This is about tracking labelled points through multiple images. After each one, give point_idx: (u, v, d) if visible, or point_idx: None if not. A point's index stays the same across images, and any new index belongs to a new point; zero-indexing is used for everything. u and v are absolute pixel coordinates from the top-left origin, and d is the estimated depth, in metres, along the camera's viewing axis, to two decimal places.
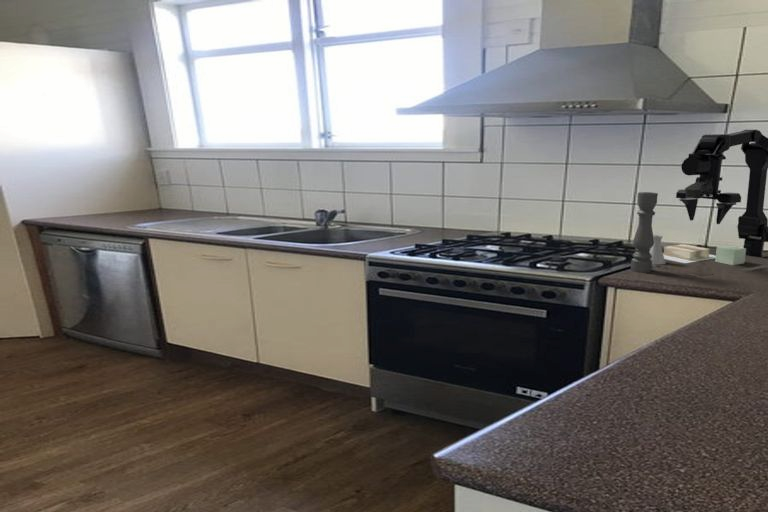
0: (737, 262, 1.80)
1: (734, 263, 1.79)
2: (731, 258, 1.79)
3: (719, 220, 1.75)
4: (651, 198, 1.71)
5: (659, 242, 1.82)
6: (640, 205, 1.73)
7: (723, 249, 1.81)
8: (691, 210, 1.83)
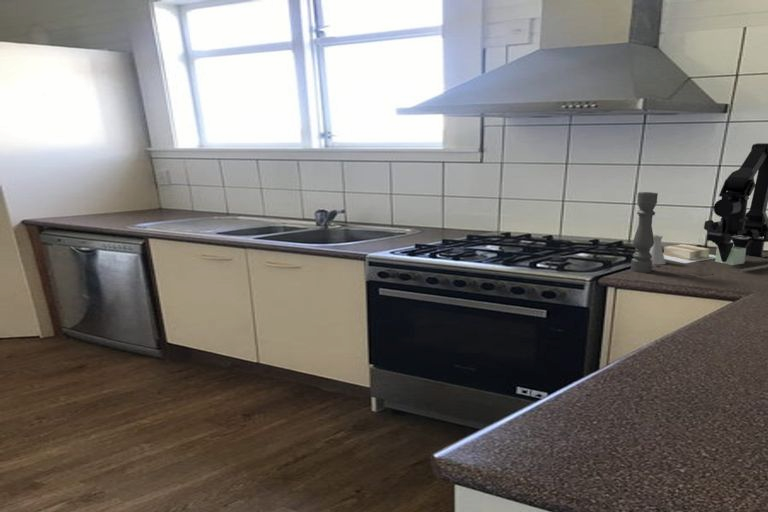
0: (737, 262, 1.80)
1: (734, 263, 1.79)
2: (731, 258, 1.79)
3: (722, 257, 1.81)
4: (650, 198, 1.71)
5: (659, 242, 1.82)
6: (640, 205, 1.73)
7: None
8: None
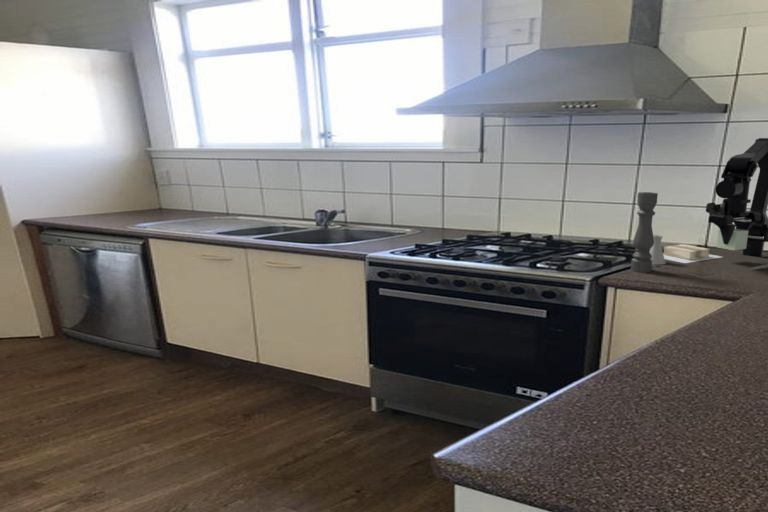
0: (739, 244, 1.79)
1: (736, 245, 1.78)
2: (733, 240, 1.78)
3: (724, 240, 1.80)
4: (650, 198, 1.71)
5: (659, 242, 1.82)
6: (640, 205, 1.73)
7: None
8: None
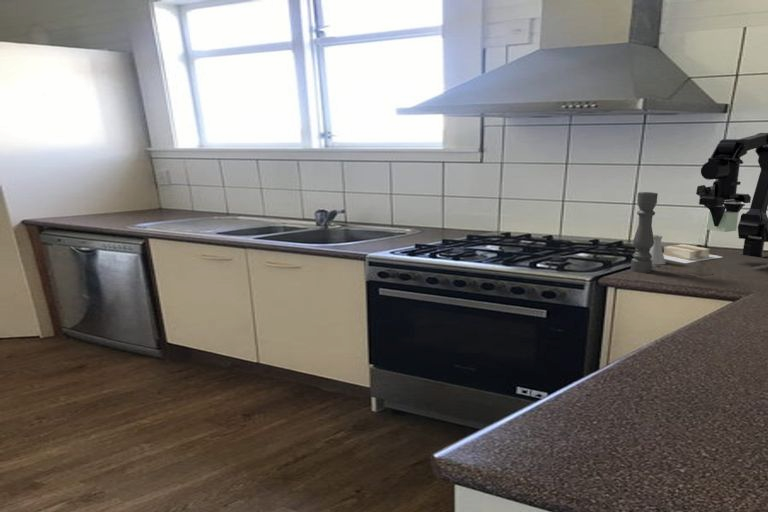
0: (730, 226, 1.80)
1: (727, 227, 1.79)
2: (723, 222, 1.79)
3: (714, 222, 1.81)
4: (650, 198, 1.71)
5: (659, 242, 1.82)
6: (640, 205, 1.73)
7: None
8: None
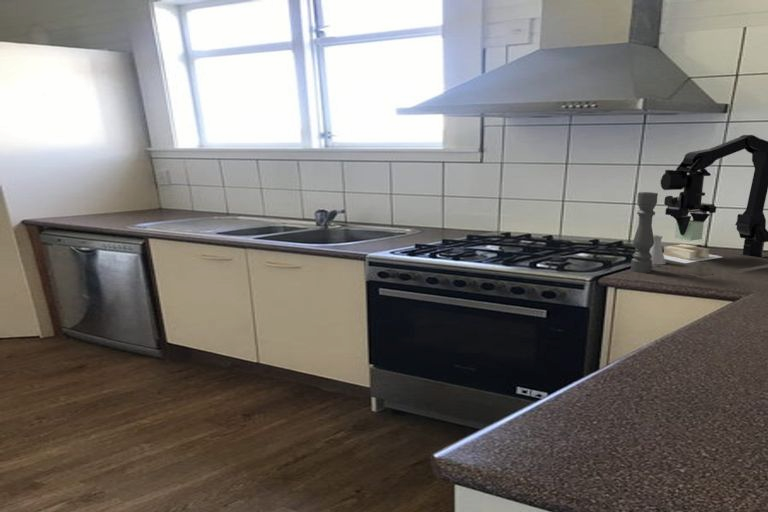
0: (695, 235, 1.88)
1: (692, 236, 1.88)
2: (688, 231, 1.88)
3: (680, 231, 1.90)
4: (651, 198, 1.71)
5: (659, 242, 1.82)
6: (640, 205, 1.73)
7: None
8: None
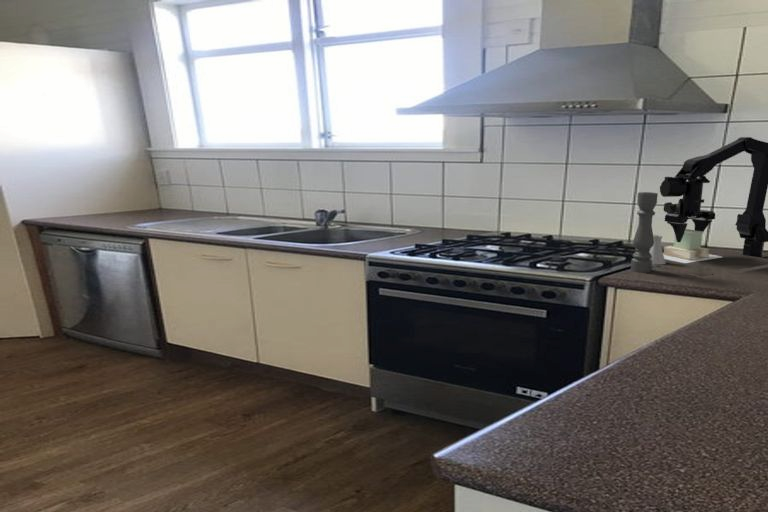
0: (694, 244, 1.89)
1: (691, 245, 1.88)
2: (687, 240, 1.88)
3: (677, 238, 1.90)
4: (650, 198, 1.71)
5: (659, 242, 1.82)
6: (640, 205, 1.73)
7: None
8: (696, 229, 1.93)
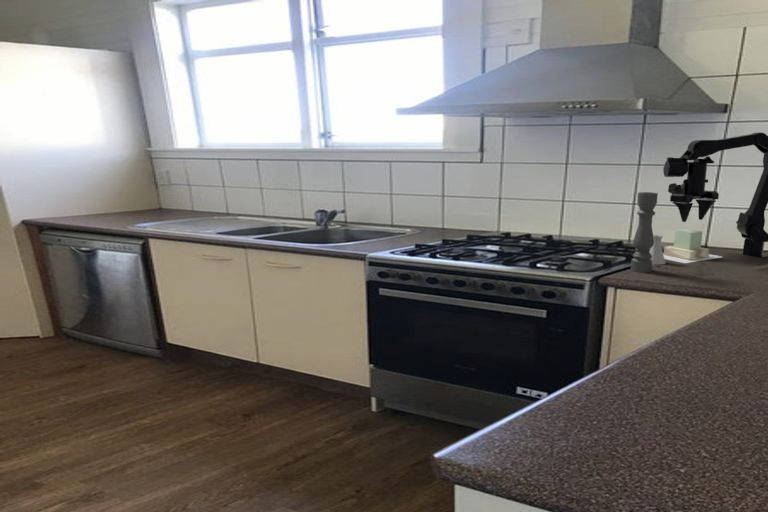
0: (694, 244, 1.89)
1: (691, 245, 1.88)
2: (687, 240, 1.88)
3: (682, 218, 1.93)
4: (651, 198, 1.71)
5: (659, 242, 1.82)
6: (640, 205, 1.73)
7: (681, 232, 1.90)
8: (700, 210, 1.97)
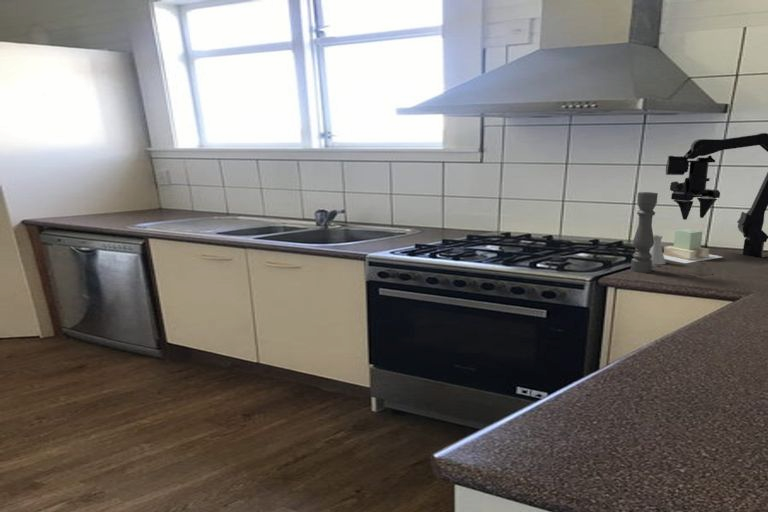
0: (694, 244, 1.89)
1: (691, 245, 1.88)
2: (687, 240, 1.88)
3: (683, 216, 1.96)
4: (650, 198, 1.71)
5: (659, 242, 1.82)
6: (640, 205, 1.73)
7: (681, 232, 1.90)
8: (701, 208, 2.00)
